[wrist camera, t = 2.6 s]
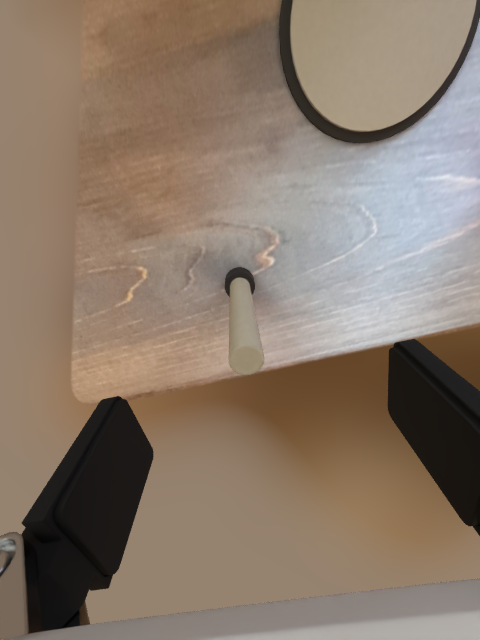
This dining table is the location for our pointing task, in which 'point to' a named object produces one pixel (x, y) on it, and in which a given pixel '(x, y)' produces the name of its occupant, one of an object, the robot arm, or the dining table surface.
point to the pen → (243, 323)
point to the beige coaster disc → (372, 60)
